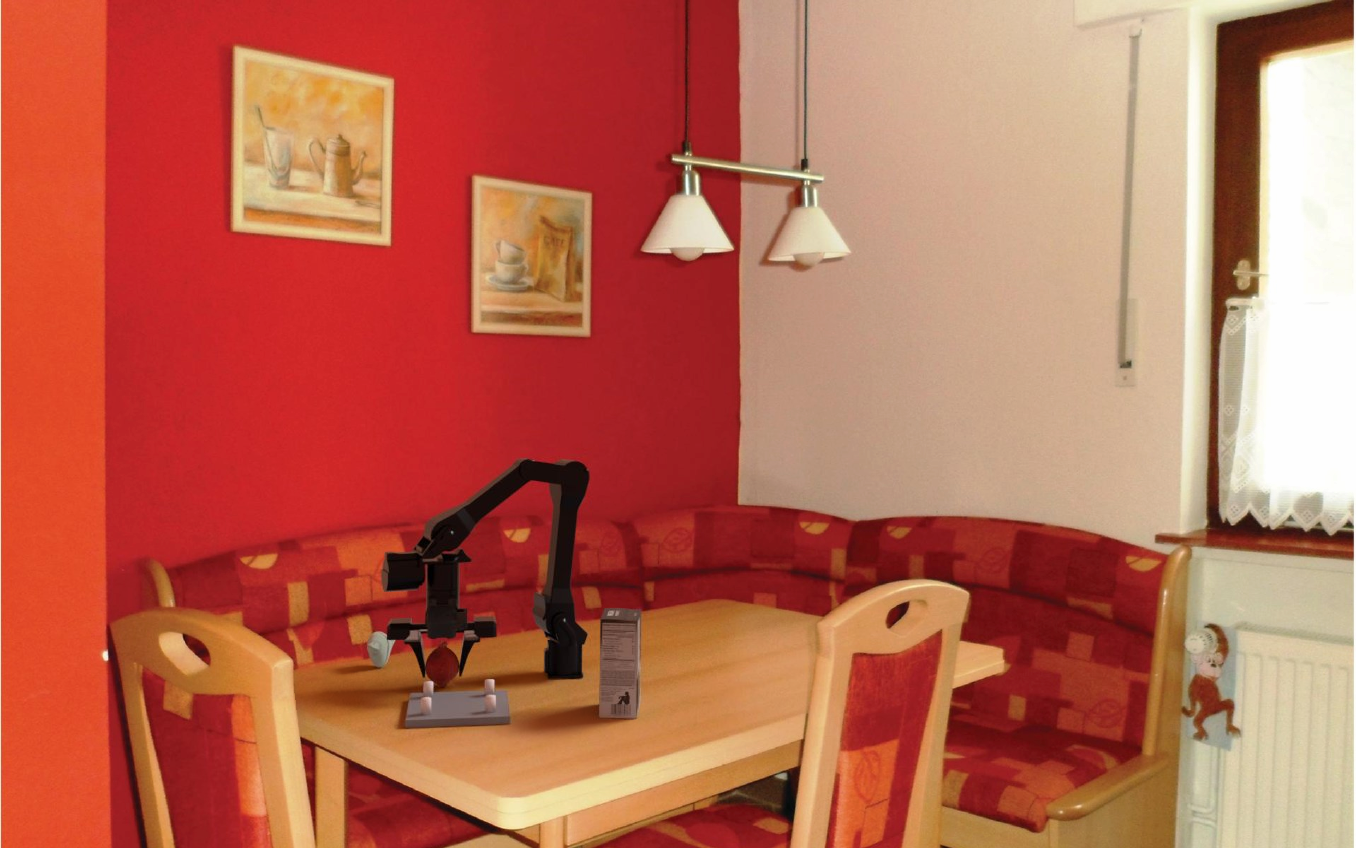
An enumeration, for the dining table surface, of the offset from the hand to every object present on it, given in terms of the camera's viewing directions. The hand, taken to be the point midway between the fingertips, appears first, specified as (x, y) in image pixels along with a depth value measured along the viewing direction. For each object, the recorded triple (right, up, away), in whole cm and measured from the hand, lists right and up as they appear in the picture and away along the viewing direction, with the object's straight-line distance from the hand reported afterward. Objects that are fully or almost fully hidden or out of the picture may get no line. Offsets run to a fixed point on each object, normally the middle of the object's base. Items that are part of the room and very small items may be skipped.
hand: (442, 676), depth 197 cm
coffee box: (+32, -3, -13) cm, 35 cm away
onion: (0, -2, 0) cm, 2 cm away
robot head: (-15, -2, +14) cm, 20 cm away
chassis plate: (+6, -2, -15) cm, 16 cm away
